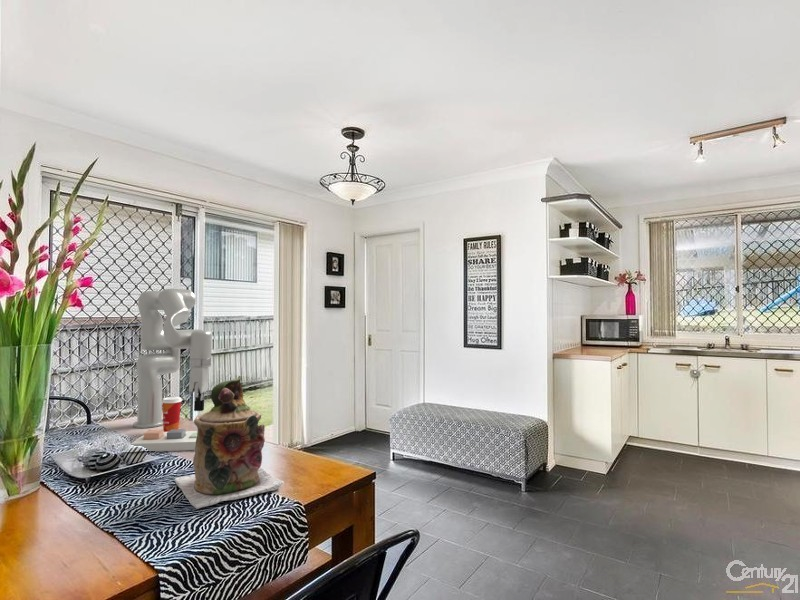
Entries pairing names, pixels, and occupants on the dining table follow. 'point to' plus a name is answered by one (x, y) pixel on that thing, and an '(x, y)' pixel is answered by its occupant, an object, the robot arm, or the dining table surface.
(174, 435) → the charcoal key
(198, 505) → the cookie jar
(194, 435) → the sage key
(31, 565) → the dining table surface
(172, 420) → the paper cup
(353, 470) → the dining table surface
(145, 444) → the keypad
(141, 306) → the robot arm
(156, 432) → the terracotta key
